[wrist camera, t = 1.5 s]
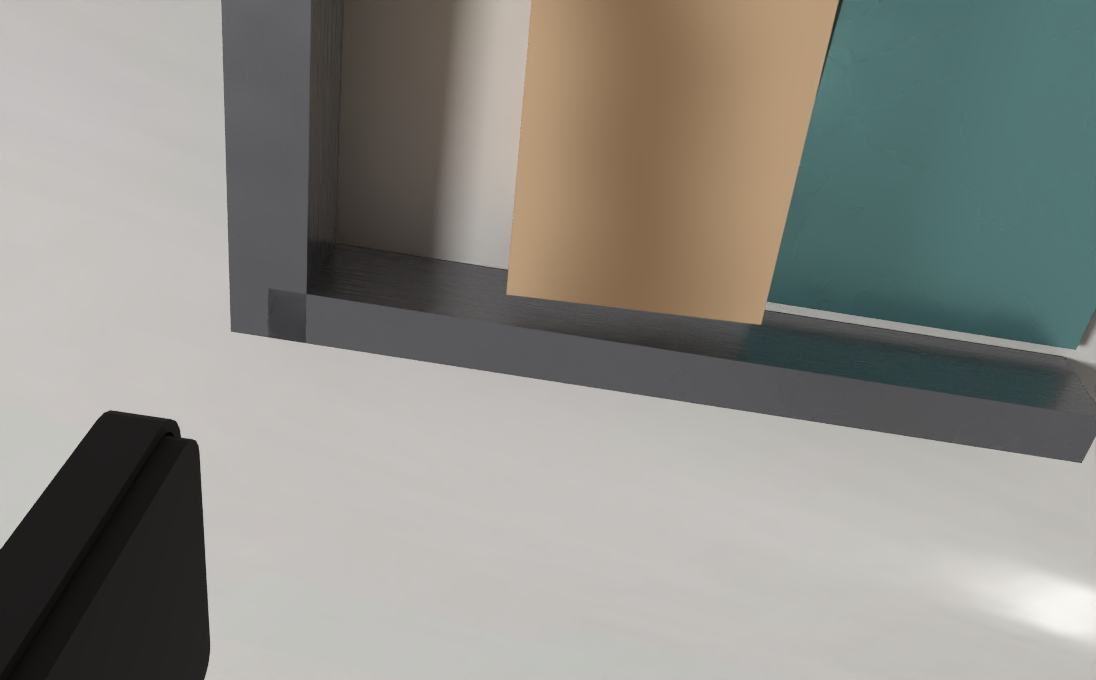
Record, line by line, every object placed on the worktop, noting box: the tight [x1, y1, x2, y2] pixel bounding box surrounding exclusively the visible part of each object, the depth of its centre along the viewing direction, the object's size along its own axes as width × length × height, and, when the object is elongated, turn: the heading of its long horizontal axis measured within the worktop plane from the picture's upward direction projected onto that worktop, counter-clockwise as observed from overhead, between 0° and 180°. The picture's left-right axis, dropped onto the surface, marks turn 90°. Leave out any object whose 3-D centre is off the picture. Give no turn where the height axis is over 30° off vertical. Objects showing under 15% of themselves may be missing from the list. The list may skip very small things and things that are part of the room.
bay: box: [221, 0, 1096, 463], centre depth 24 cm, size 23×16×3 cm
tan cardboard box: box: [506, 0, 839, 325], centre depth 24 cm, size 6×9×5 cm, turn 174°
